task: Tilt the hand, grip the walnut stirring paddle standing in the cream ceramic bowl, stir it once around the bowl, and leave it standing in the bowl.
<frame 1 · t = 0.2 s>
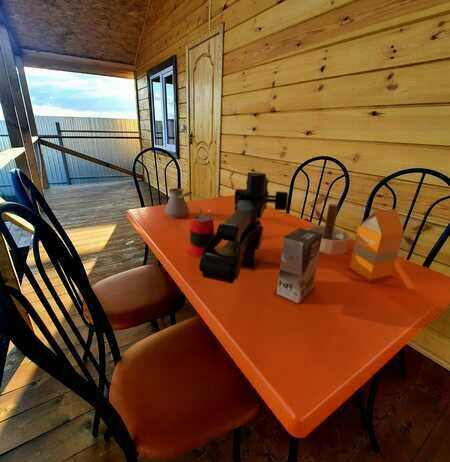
hand: (264, 195, 98), 17 cm above the table, tool horizontal, fingers open, 9 cm apart
walnut paddle: (326, 246, 93), point 1 cm above the table, touching bowl
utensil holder: (206, 235, 101), on the table
bowl: (325, 248, 93), on the table
coffee box: (295, 291, 67), on the table
soda can: (201, 252, 87), on the table
coffee pot: (181, 219, 119), on the table
orange juice: (369, 273, 77), on the table
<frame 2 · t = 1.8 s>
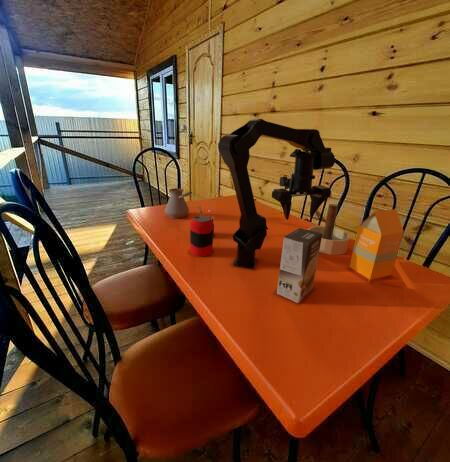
hand: (299, 217, 85), 13 cm above the table, tool pointing down, fingers open, 9 cm apart
nothing on the table moved.
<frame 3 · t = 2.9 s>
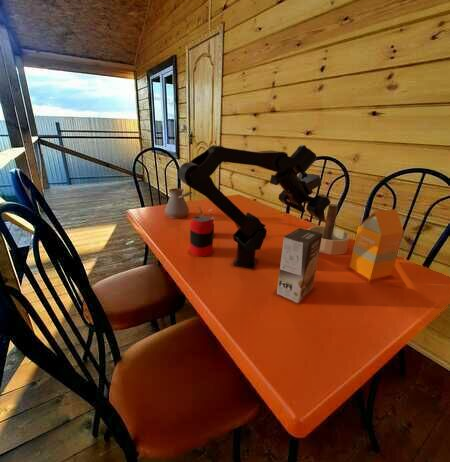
hand: (313, 215, 86), 13 cm above the table, tool tilted 45°, fingers open, 9 cm apart
nothing on the table moved.
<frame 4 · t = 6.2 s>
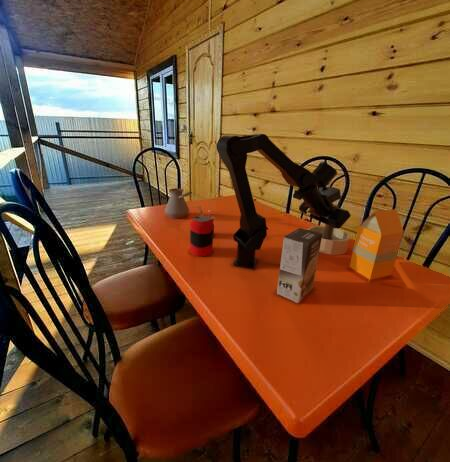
hand: (332, 225, 91), 9 cm above the table, tool tilted 45°, fingers closed on walnut paddle, 3 cm apart
walnut paddle: (326, 246, 93), point 1 cm above the table, touching bowl, gripper
everything else where it was.
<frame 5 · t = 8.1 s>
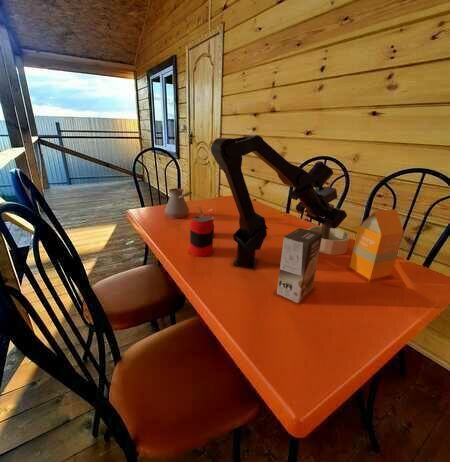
hand: (329, 225, 91), 9 cm above the table, tool tilted 45°, fingers closed on walnut paddle, 3 cm apart
walnut paddle: (323, 244, 93), point 1 cm above the table, tilted 5°, touching bowl, gripper
everything else where it was.
when the fingers open (9 cm above the table, at t = 9.9 s): walnut paddle stays where it is, resting on bowl.
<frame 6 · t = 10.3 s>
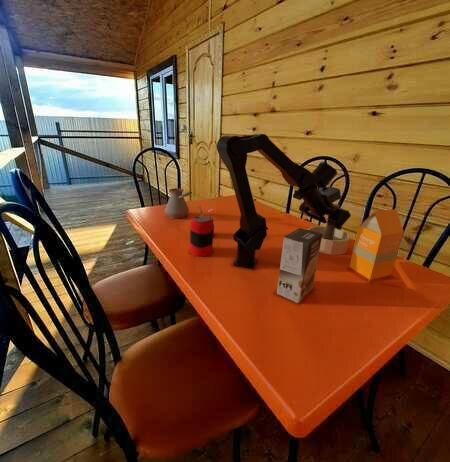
hand: (332, 225, 91), 9 cm above the table, tool tilted 45°, fingers open, 7 cm apart
walnut paddle: (327, 245, 94), point 1 cm above the table, touching bowl
everything else where it was.
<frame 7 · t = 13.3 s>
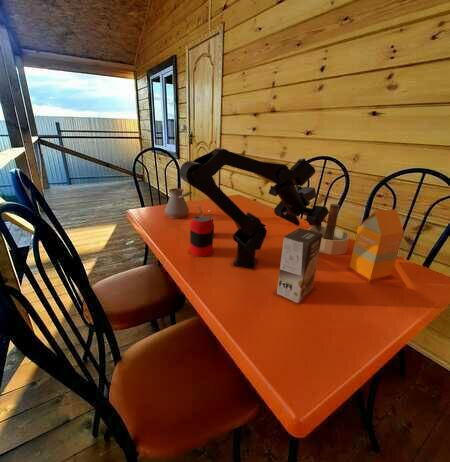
hand: (309, 227, 88), 9 cm above the table, tool tilted 40°, fingers open, 9 cm apart
nothing on the table moved.
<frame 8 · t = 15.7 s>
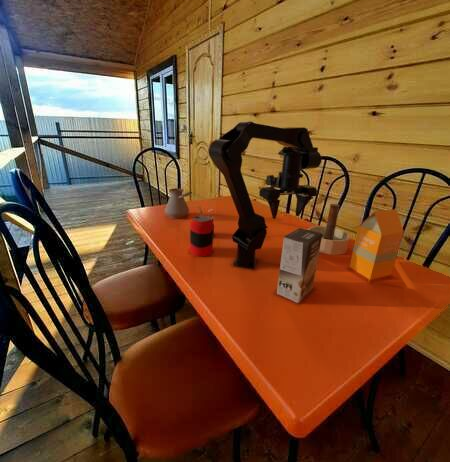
hand: (285, 217, 84), 13 cm above the table, tool pointing down, fingers open, 9 cm apart
nothing on the table moved.
at the end: walnut paddle inside the target area in the bowl (0.8 cm from its centre), point 0.8 cm above the bowl's base; walnut paddle tilted 0° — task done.
